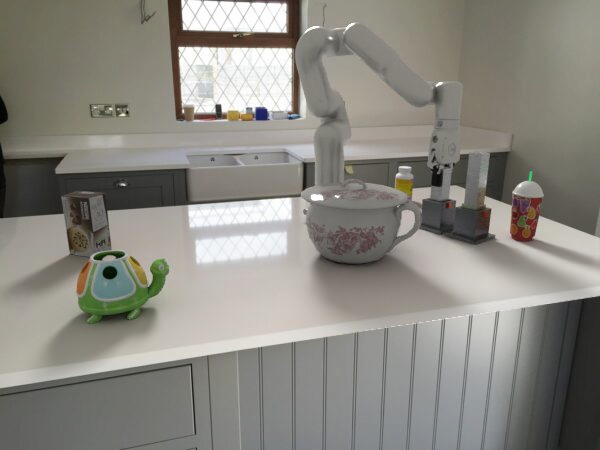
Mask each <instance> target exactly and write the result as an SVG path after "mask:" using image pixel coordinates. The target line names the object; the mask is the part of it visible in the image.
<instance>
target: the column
mask: <svg viewBox="0 0 600 450" xmlns="http://www.w3.org/2000/svg"><path fill="white" fill-rule="evenodd" d="M437 168H438V166H437ZM451 172H452V173H453V171H452V168H450V167H444V166H443V165H442V169H441V173H440V174H442V179H441V187H435V186H432V185H431V184H430V195H429V198H430V200H431V201H435V202H439V203H443V202H448V201H449V199H450V191H451V184H450V182H451V183H452V173H451Z"/></svg>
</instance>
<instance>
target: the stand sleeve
mask: <svg viewBox="0 0 600 450" xmlns="http://www.w3.org/2000/svg"><path fill="white" fill-rule="evenodd" d="M421 204H422V205H421V213H422V223H421V226H420V228H419V230H424V231H427V232H431V233H434V234H438V235H444V234H446V233H448V232H451V231H453V229H454V219H455V209H456V207H457V200H456V199H452V198H449V201H448V202H443V203H439V202H435V201H431V200H430V197H427V198H423V199H422V203H421Z"/></svg>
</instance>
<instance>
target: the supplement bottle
mask: <svg viewBox="0 0 600 450" xmlns="http://www.w3.org/2000/svg"><path fill="white" fill-rule="evenodd" d="M412 169H413V168H412V167H411V166H407V165H402V166H398V172H397V173H396V175H395V180H394V181H395V182H394V189H397V190H400V191H402V192H404V193H405V194H406V195H407V196H408V200H407V202H406V203H408V202H410V201H412V200H413V192H414V191H413V189H414V187H413V186H414V175H413V174H412V173H411V172H412Z"/></svg>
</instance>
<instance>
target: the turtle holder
mask: <svg viewBox="0 0 600 450" xmlns="http://www.w3.org/2000/svg"><path fill="white" fill-rule="evenodd" d="M108 256H113V257H115V258H114V259H107V260H104V258H105V257H108ZM149 271H150V273H151V274H152V280H151V283H150V284H149V280H148V279H147V275H146V272H145V270H144V268H143V267H142V265H141V263H140V262H139V261H138V260H137V259H136V258H135V257H133V256H132V255H131V254H129V253H128V252H127V251H126V250H123V249H112V250H109V251H102V252H97V253H95V254H93V255H92V256H91V257H89V260H88V261H87V262H86V263H85V264H84V266H82V268H81V270H80V273H79V275H78V278H77V282H76V289H75V294H76V296H77V299H78V300H77V304H78V306H79V309H80V310H81V311H82V312H84V313H87V314H91V315H90V317H88V318H87V319H86V321H85V322H86V323H87V324H95V323H99V322H100V321H101V320H102V318H103V316H106V315H107V316H108V315H117V314H121V313H126V312H129V313H128V314H127V316H126V319H127V320H134V319H135V320H136V318H138V317H139V315H140V313H141V307H142V306H144V305H145V304H146V303H147V302H148V301H149V300H150V299H151V298H154V297H156V296H157V295H159V293H161V292H162V291H163V288H164V286H165V285H166V284H165V283H166V276H168V275H169V272H170V266H169V264H168V262H167V260H166V259H165V258H157V259H156V260H154V261H153V262H152V263H151V265H150V268H149Z"/></svg>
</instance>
